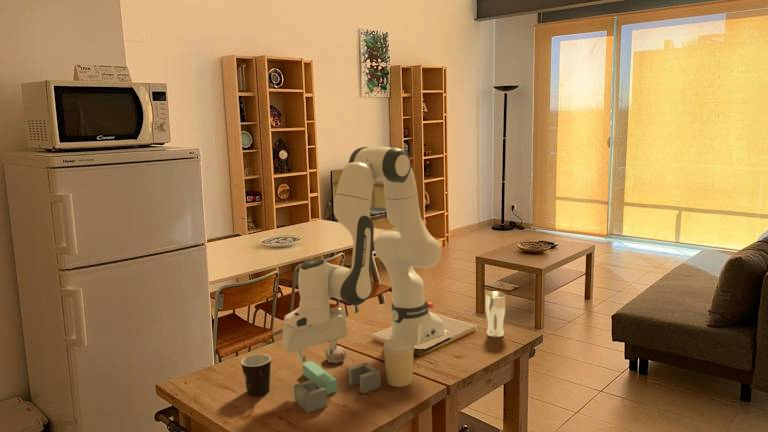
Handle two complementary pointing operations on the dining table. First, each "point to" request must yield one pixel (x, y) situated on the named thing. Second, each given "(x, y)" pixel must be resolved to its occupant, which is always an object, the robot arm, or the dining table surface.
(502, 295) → the beer glass
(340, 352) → the garlic bulb
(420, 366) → the dining table surface
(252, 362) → the coffee mug
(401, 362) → the coffee cup
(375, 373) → the cap
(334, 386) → the slat
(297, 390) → the cap
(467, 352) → the dining table surface
